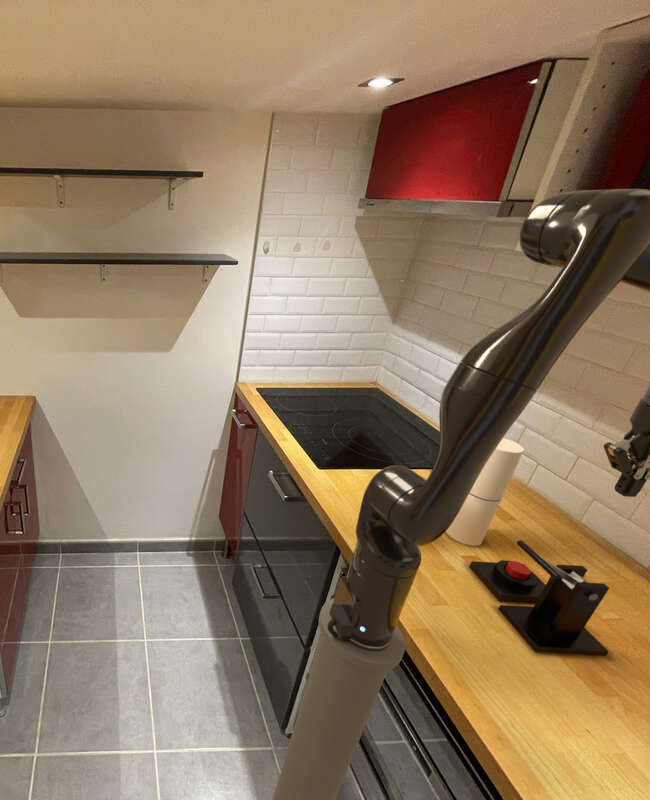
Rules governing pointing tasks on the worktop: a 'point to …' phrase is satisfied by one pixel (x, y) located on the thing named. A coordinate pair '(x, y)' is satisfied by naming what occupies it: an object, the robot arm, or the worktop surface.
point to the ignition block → (507, 582)
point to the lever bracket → (560, 616)
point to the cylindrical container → (486, 495)
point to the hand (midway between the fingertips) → (624, 493)
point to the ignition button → (518, 570)
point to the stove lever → (552, 567)
